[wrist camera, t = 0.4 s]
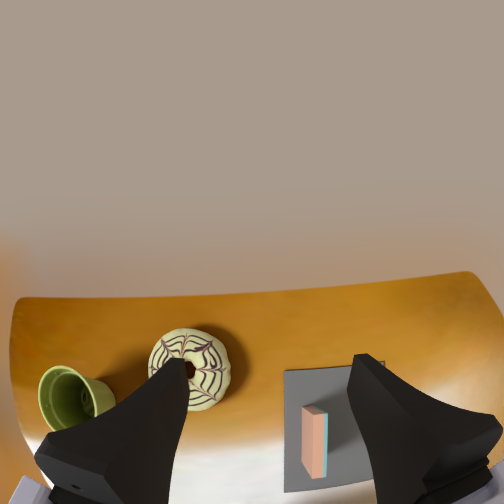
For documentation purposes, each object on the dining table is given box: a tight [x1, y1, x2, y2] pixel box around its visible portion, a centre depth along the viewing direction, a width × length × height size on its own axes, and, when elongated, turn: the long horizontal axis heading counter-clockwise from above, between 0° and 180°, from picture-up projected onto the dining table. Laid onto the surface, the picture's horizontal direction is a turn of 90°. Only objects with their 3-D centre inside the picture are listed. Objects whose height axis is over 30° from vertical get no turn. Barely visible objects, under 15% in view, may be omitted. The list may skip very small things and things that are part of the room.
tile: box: [301, 406, 328, 479], centre depth 28 cm, size 8×2×7 cm, turn 1°
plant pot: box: [38, 366, 116, 431], centre depth 29 cm, size 9×9×9 cm
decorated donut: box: [148, 328, 231, 412], centre depth 34 cm, size 10×11×4 cm
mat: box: [284, 362, 384, 493], centre depth 32 cm, size 18×14×1 cm
